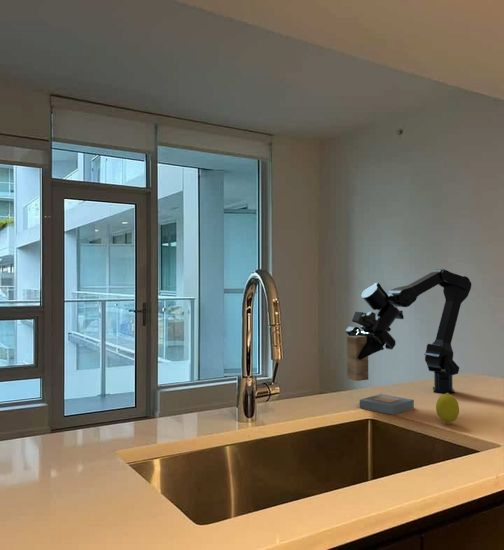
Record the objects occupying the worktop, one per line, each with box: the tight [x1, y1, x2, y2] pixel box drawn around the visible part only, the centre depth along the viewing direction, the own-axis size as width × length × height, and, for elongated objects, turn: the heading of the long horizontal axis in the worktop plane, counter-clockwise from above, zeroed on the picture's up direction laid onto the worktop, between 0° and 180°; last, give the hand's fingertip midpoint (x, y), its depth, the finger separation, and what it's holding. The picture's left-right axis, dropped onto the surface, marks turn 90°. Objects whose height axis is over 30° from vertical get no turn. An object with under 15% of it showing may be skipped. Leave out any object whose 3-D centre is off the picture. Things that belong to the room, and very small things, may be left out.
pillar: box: [346, 335, 369, 382], centre depth 158 cm, size 4×4×13 cm
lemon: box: [435, 393, 460, 425], centre depth 132 cm, size 6×6×8 cm
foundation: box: [359, 393, 415, 416], centre depth 150 cm, size 11×11×3 cm
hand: (353, 357), depth 157 cm, fingers closed on pillar, 4 cm apart
